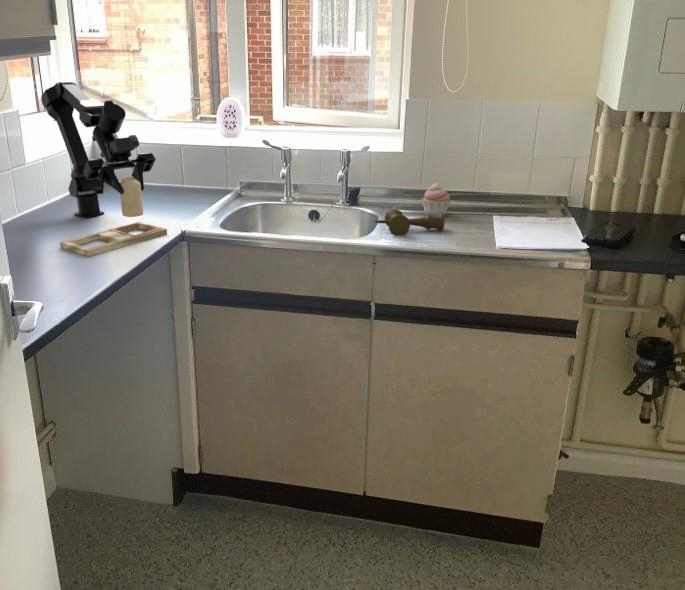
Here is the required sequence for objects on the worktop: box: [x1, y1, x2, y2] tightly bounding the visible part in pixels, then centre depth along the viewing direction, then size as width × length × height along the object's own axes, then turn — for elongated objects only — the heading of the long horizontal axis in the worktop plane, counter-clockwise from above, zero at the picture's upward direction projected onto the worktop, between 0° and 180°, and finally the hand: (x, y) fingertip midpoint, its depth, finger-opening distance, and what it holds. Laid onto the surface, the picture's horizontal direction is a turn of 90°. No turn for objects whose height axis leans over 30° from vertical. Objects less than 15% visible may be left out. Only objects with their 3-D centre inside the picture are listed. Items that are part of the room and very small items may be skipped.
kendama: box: [374, 208, 446, 237], centre depth 190 cm, size 6×10×20 cm
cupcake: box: [420, 182, 452, 217], centre depth 206 cm, size 9×9×10 cm
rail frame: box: [59, 221, 168, 257], centre depth 179 cm, size 12×25×2 cm, turn 144°
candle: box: [119, 176, 144, 218], centre depth 180 cm, size 6×6×10 cm
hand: (132, 191), depth 179 cm, fingers closed on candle, 5 cm apart
